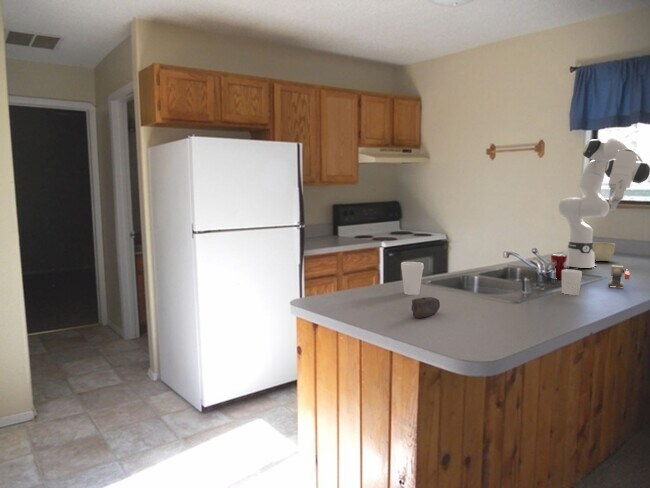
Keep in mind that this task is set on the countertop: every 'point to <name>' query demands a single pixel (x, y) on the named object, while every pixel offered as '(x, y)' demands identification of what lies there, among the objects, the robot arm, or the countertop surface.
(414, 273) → the foam cup
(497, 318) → the countertop surface
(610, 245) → the planter bowl
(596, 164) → the robot arm
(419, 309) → the perforated stone tool
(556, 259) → the soda can
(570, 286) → the white cup
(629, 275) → the lever
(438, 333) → the countertop surface
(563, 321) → the countertop surface
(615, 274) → the valve stand
